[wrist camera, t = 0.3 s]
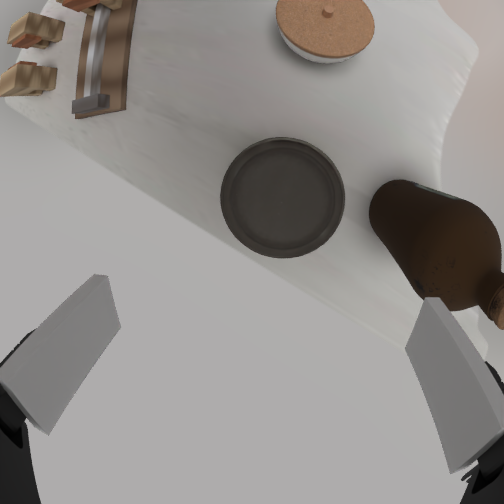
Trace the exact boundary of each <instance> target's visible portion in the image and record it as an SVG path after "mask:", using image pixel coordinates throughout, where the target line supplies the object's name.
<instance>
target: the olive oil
mask: <svg viewBox="0 0 504 504" xmlns="http://www.w3.org/2000/svg"><path fill="white" fill-rule="evenodd" d="M369 216H370V222H371V226H372V228H373V230H374V232H375V233H376V235H377V236H378V237H379V238H380V240H381V241H382V242H383V244H384V245H385V246H386V248H387V249H388V250H389V252H390V253H391V255H392V256H393V258H394V259H395V261H396V262H397V264H398V265H399V267H400V268H401V270H402V271H403V273H404V274H405V276H406V278H407V279H408V281H409V283H410V284H411V286H412V287H413V289H414V290H415V292H416V293H417V294H418V295H419V296H420V297H421V298H422V299H423V300H424V299H425V297H439V298H440V299H441V300H442V302H443V303H444V304H445V306H446V307H447V308H448V310H449V311H460V310H464V309H467V308H470V307H474V306H477V305H479V306H480V308H481V309H482V310H483V312H484V313H485V314H486V315H487V317H488V318H489V319H490V320H492V321H494V323H495V324H496V325H497V327H498V328H499V329H502V330H504V273H502V272H501V258H502V257H501V256H502V254H501V243H500V238H499V235H498V232H497V230H496V228H495V226H494V224H493V223H492V221H491V220H490V219H489V217H488V216H487V215H486V214H485V213H484V212H483V211H482V210H481V209H480V208H479V207H478V206H476V205H474V204H473V203H471V202H469V201H466V200H463V199H460V198H458V197H455V196H452V195H449V194H446V193H443V192H440V191H437V190H434V189H431V188H428V187H425V186H422V185H419V184H417V183H415V182H414V183H413V182H410V181H407V180H393V181H390V182H388V183H386V184H384V185H383V186H382V187H381V188H380V189H379V190H378V191H377V192H376V194H375V195H374V197H373V199H372V202H371V205H370V211H369Z"/></svg>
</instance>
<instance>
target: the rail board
mask: <svg viewBox="0 0 504 504" xmlns="http://www.w3.org/2000/svg"><path fill="white" fill-rule="evenodd" d="M136 5H137V0H123V1H122V5H121V8H119V9H116V10H112V9H110V8H109V7H107V6H105V5H103V4H101V3H98V4H97V6H96V10H95V15H94V17H93V16H91V15H88V14H87V17H86V22H85V27H84V32H83V38H82V44H81V50H80V57H79V66H78V75H77V87H76V100H73V101H72V114H75V119H82V118H87V117H91V116H96V115H100V114H105V113H110V112H116V111H121V110H126V91H127V76H128V63H129V53H130V45H131V37H132V29H133V23H134V17H135V11H136Z"/></svg>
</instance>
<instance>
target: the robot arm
mask: <svg viewBox="0 0 504 504" xmlns="http://www.w3.org/2000/svg"><path fill="white" fill-rule="evenodd" d="M120 328H121V325H120V322H119V318H118V315H117V311H116V307H115V304H114V300H113V296H112V292H111V287H110V283H109V279H108V276H105V275H96V274H94V275H93V276H92V277H91V278H89V279H88V280H87V281H86V282H85V283H84V284H83V285H82V286H81V287H80V288H78V289H77V290H76V291H75V292H74V293H73V294H72V295H71V296H70V297H69V298H67V299H66V300H65V301H64V302H63V303H62V304H61V305H60V306H59V307H58V308H57V309H56V310H55V311H54V312H53V313H52V314H51V315H50V316H49V317H48V318H47V319H46V320H45V321H44V322H43V323H42V324H41V325H40V326H39V327H38V328H36V329H35V330H33V331H31V332H30V333H28V334H27V335H26V336H25V337H24V338H23V339H22V340H21V341H20V344H17V346H16V347H15V348H14V350H12V351H11V352H10V353H9V354H8V355H7V357H6V358H5V359H4V360H3V361H2V362H1V363H0V504H41V501H40V498H39V494H38V490H37V485H36V481H35V476H34V471H33V466H32V460H31V453H30V446H29V437H28V429H27V425H26V423H25V422H24V421H25V419H26V418H27V419H28V420H29V421H30V422H31V423H32V424H33V425H34V427H36V428H37V429H39V430H41V431H42V432H44V433H45V434H47V435H49V434H50V432H51V431H52V429H53V428H54V426H55V424H56V423H57V421H58V419H59V418H60V416H61V415H62V413H63V411H64V409H65V408H66V407H67V405H68V403H69V402H70V400H71V399H72V397H73V396H74V394H75V393H76V391H77V390H78V388H79V387H80V385H81V383H82V382H83V381H84V379H85V378H86V376H87V375H88V373H89V372H90V370H91V369H92V367H93V366H94V364H95V363H96V362H97V360H98V358H99V357H100V356H101V354H102V353H103V352H104V350H105V349H106V347H107V346H108V345H109V343H110V342H111V340H112V339H113V338H114V336H115V335H116V334H117V332H118V331H119V330H120ZM405 350H406V352H407V354H408V356H409V359H410V361H411V363H412V365H413V368H414V370H415V373H416V375H417V377H418V380H419V382H420V385H421V387H422V390H423V392H424V395H425V398H426V400H427V403H428V406H429V408H430V411H431V414H432V417H433V419H434V422H435V425H436V428H437V431H438V434H439V437H440V440H441V444H442V447H443V450H444V453H445V457H446V460H447V464H448V467H449V471H450V474H452V473H455V472H457V471H460V470H462V469H465V468H467V467H468V466H469V465H471V463H473V462H474V461H475V460H478V463H479V464H478V465H476V466H475V467H474V468H473V469H471V470H470V471H469V472H467V473H466V474H465V475H464V476H463V477H462V479H461V480H462V481H464V480H465V479H466V478H467V477H469V476H470V475H472V476H471V478H469V479H468V480H467V481H466V482H467V483H469V484H468V486H467V489H466V491H465V493H464V496H463V498H462V500H461V502H460V504H504V383H503V382H501V378H500V376H499V375H498V374H497V371H496V370H495V369H494V368H493V367H492V366H491V365H490V364H489V363H488V362H487V361H486V362H484V360H483V359H482V357H481V356H480V354H479V352H478V351H477V349H476V348H475V346H474V345H473V343H472V342H471V340H470V339H469V337H468V336H467V335H466V333H465V332H464V330H463V329H462V327H461V326H460V325H459V323H458V322H457V320H456V319H455V318H454V316H453V315H452V314H451V312H450V311H449V310H448V308H447V307H446V306H445V304H444V303H443V302H442V300H441V299H440V298H439V297H425V299H424V302H423V305H422V308H421V310H420V313H419V316H418V318H417V321H416V323H415V326H414V328H413V331H412V333H411V336H410V338H409V340H408V343H407V345H406V347H405Z"/></svg>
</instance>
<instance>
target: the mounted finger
mask: <svg viewBox="0 0 504 504" xmlns="http://www.w3.org/2000/svg"><path fill="white" fill-rule="evenodd" d="M122 1H123V0H56V2H59V3H62V6H65V7H67V8H70V9H72V10H75V11H77V12H80V11H81V12H84V13H86V14H88V15H91V16H93V17H94V15H95V10H96V6H97V4H98V3H101V4H103V5H105V6H107V7H109V8H110V9H112V10H116V9H119V8H121V5H122Z"/></svg>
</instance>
